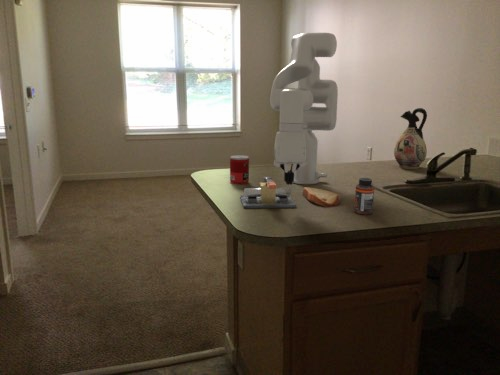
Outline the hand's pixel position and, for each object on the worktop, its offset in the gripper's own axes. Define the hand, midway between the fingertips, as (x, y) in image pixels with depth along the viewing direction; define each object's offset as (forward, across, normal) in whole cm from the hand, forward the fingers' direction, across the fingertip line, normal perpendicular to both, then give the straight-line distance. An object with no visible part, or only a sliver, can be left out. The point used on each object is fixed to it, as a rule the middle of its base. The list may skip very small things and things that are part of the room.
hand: (288, 183), depth 148 cm
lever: (+1, +6, -3) cm, 7 cm away
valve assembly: (+9, +6, -8) cm, 13 cm away
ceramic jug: (+8, -76, -68) cm, 103 cm away
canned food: (+8, +13, -40) cm, 43 cm away
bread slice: (+9, -14, -12) cm, 21 cm away
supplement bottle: (+9, -24, +6) cm, 26 cm away
